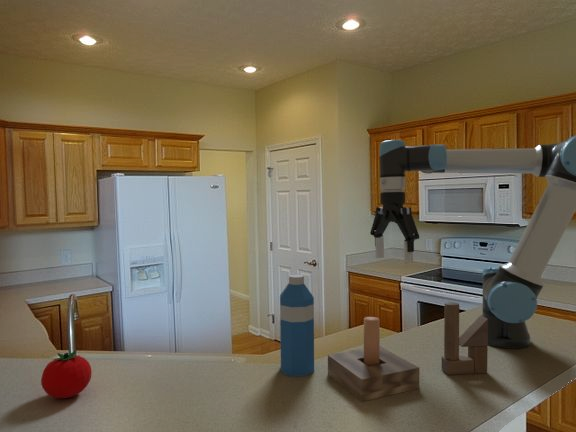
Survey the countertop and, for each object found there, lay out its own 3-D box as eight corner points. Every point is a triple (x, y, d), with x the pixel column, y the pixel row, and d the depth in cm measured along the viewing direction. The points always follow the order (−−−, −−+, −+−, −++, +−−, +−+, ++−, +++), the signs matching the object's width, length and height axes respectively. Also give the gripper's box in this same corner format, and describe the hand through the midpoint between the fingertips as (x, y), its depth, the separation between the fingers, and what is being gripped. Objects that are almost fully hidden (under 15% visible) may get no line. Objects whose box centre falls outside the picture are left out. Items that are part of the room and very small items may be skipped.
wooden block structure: (487, 373, 108) (488, 304, 107) (447, 375, 107) (447, 305, 106) (480, 367, 111) (480, 300, 110) (441, 369, 110) (441, 301, 110)
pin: (373, 370, 106) (373, 316, 106) (382, 376, 103) (382, 320, 102) (360, 373, 105) (360, 317, 104) (369, 379, 101) (369, 322, 101)
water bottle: (318, 364, 114) (318, 273, 113) (309, 378, 106) (308, 280, 104) (286, 360, 117) (285, 272, 116) (274, 374, 109) (273, 278, 107)
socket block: (379, 363, 114) (379, 345, 114) (419, 388, 100) (419, 367, 99) (327, 373, 108) (327, 354, 108) (361, 401, 93) (361, 379, 93)
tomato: (58, 385, 103) (57, 345, 103) (100, 385, 103) (99, 345, 102) (31, 406, 93) (29, 362, 92) (77, 407, 92) (76, 362, 92)
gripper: (359, 192, 139) (360, 256, 139) (410, 190, 116) (411, 266, 117) (377, 192, 142) (378, 254, 143) (431, 190, 119) (432, 264, 120)
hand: (393, 260), depth 130 cm, fingers open, 13 cm apart
